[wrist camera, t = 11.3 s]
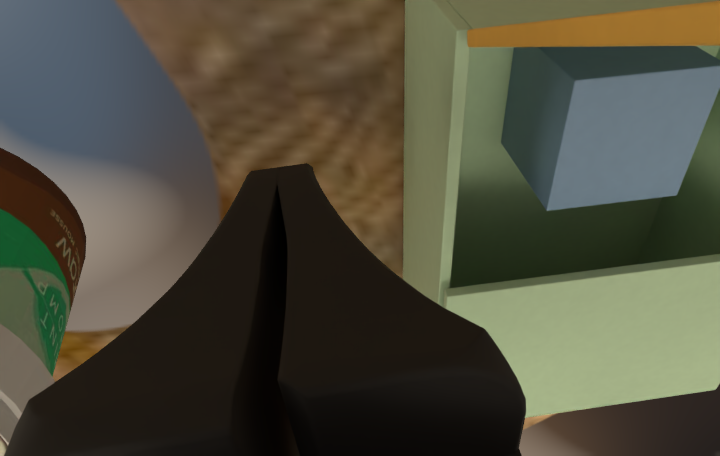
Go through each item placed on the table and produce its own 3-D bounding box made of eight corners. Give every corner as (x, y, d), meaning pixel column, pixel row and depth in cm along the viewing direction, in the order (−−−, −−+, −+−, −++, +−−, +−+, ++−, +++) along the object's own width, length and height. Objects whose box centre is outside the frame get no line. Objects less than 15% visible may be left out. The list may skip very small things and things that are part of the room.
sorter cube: (610, 131, 23) (677, 196, 19) (500, 143, 22) (546, 211, 19) (642, 14, 20) (730, 64, 16) (516, 26, 19) (574, 80, 16)
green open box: (405, -34, 18) (466, 41, 12) (762, -63, 19) (968, -6, 13) (402, 308, 28) (434, 432, 23) (631, 279, 29) (716, 390, 24)
